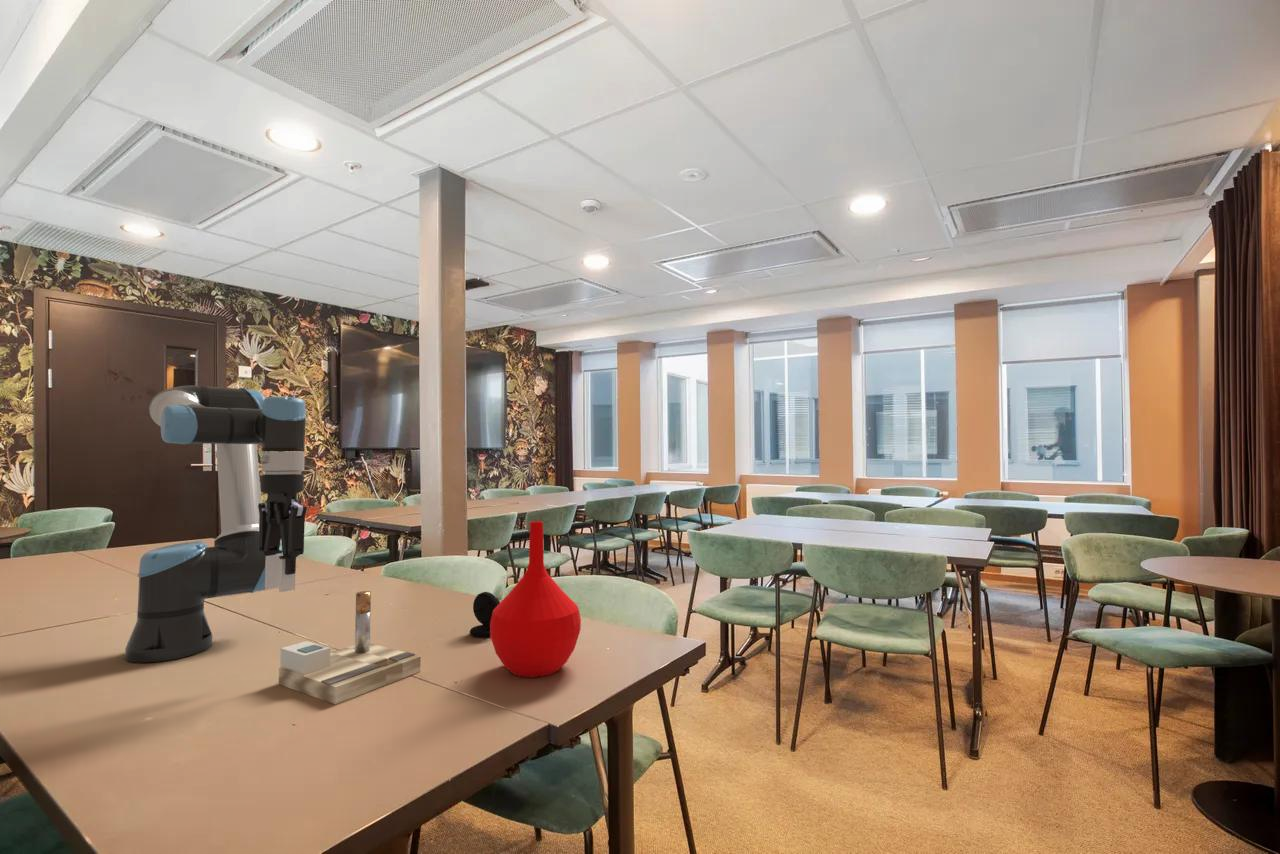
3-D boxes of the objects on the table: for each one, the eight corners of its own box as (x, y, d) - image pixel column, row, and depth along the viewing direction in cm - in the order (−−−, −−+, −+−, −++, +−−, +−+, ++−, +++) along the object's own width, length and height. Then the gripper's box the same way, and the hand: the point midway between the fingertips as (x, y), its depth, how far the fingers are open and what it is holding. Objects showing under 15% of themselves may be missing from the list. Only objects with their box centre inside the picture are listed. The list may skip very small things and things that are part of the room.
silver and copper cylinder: (351, 652, 121) (353, 593, 122) (364, 648, 124) (365, 590, 124) (360, 654, 120) (361, 594, 120) (372, 650, 122) (373, 592, 123)
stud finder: (280, 666, 113) (280, 647, 113) (306, 658, 117) (306, 640, 117) (304, 674, 109) (304, 654, 109) (330, 666, 113) (330, 646, 113)
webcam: (508, 632, 145) (508, 591, 145) (485, 640, 138) (485, 597, 139) (486, 627, 149) (486, 587, 149) (462, 634, 142) (463, 593, 143)
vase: (596, 660, 125) (597, 519, 126) (548, 692, 108) (549, 529, 109) (525, 648, 132) (526, 515, 134) (469, 677, 116) (471, 524, 117)
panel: (278, 684, 112) (279, 667, 112) (364, 655, 128) (364, 640, 128) (335, 704, 103) (335, 685, 103) (420, 671, 118) (420, 655, 119)
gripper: (240, 472, 121) (236, 587, 120) (288, 474, 112) (285, 598, 111) (278, 471, 127) (275, 580, 126) (326, 473, 118) (323, 590, 117)
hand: (279, 588), depth 118 cm, fingers open, 4 cm apart
